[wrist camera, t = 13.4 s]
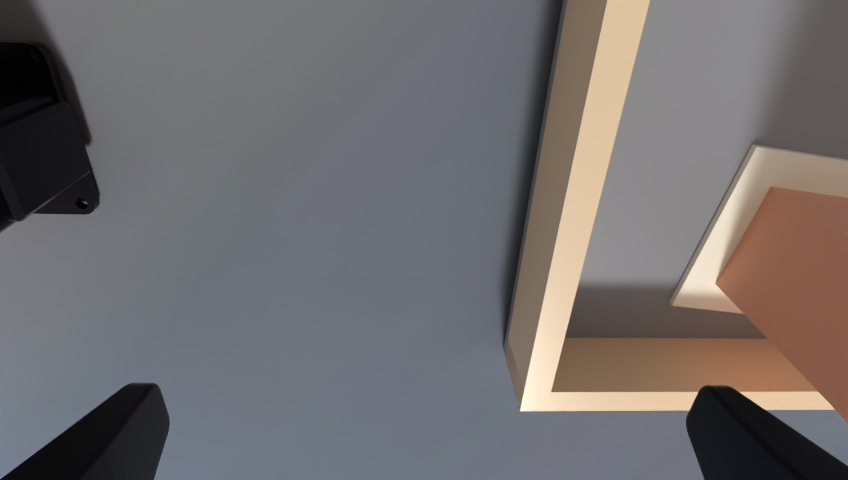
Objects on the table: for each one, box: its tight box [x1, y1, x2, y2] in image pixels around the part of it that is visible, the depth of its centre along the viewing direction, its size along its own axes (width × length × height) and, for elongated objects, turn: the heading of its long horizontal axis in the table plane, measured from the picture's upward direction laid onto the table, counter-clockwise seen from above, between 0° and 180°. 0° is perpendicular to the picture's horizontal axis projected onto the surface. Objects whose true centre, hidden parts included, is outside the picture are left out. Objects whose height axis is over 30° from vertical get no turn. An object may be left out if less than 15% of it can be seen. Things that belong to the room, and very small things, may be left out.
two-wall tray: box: [503, 0, 848, 411], centre depth 19 cm, size 18×18×4 cm
